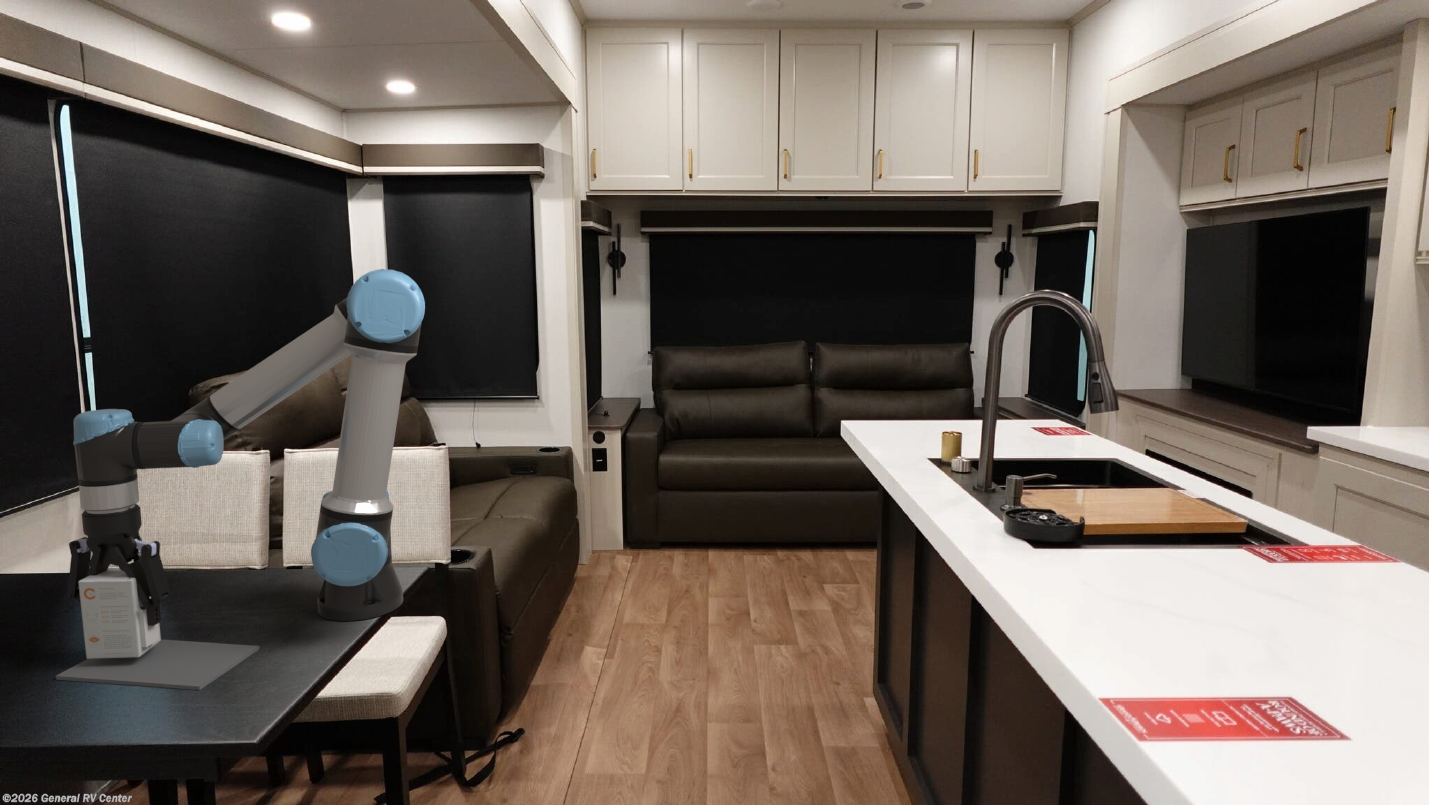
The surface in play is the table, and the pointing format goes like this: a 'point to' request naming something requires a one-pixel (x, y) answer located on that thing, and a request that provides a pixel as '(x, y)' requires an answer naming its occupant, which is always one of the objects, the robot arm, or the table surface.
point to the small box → (111, 615)
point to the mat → (164, 665)
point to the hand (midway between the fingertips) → (123, 641)
